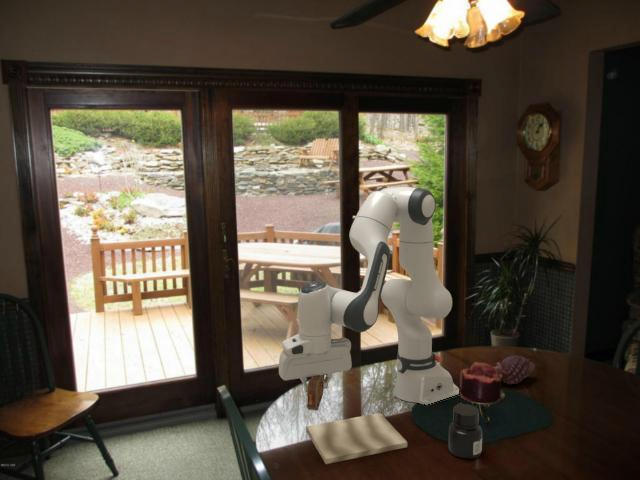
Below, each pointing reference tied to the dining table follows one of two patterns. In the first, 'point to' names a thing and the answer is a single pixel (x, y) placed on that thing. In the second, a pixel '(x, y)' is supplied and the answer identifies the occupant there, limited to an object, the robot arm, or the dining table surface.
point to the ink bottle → (465, 432)
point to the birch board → (355, 437)
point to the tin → (314, 392)
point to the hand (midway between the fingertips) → (316, 389)
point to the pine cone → (514, 369)
